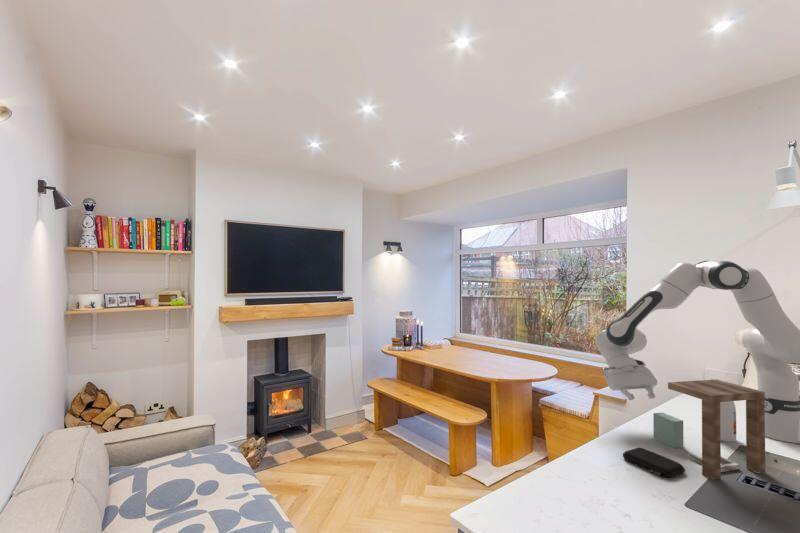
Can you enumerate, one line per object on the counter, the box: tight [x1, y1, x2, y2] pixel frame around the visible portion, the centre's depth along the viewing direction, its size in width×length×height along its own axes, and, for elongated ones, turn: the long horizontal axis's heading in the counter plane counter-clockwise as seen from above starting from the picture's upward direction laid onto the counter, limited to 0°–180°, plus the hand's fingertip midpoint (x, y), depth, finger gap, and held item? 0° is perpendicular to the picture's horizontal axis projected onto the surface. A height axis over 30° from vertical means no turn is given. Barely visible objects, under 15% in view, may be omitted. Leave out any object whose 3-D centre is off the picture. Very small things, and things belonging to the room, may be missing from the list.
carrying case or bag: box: [622, 447, 686, 479], centre depth 117 cm, size 11×3×15 cm
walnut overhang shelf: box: [667, 379, 766, 481], centre depth 119 cm, size 20×14×24 cm
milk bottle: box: [720, 401, 737, 443], centre depth 139 cm, size 8×8×20 cm
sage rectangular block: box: [652, 412, 684, 449], centre depth 134 cm, size 4×8×9 cm, turn 13°
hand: (642, 398), depth 145 cm, fingers open, 8 cm apart
